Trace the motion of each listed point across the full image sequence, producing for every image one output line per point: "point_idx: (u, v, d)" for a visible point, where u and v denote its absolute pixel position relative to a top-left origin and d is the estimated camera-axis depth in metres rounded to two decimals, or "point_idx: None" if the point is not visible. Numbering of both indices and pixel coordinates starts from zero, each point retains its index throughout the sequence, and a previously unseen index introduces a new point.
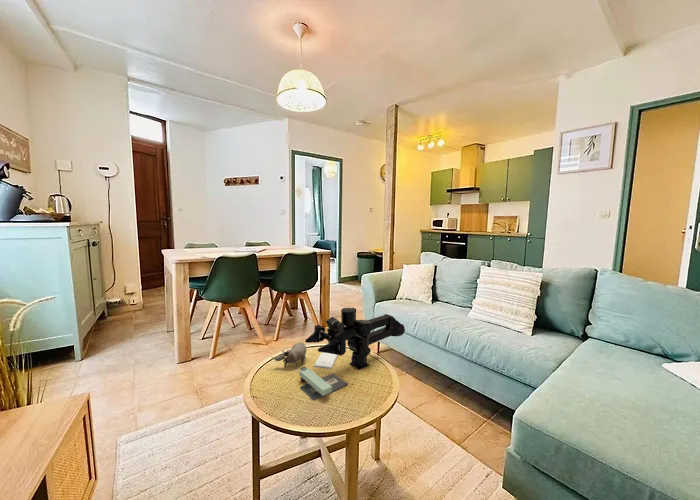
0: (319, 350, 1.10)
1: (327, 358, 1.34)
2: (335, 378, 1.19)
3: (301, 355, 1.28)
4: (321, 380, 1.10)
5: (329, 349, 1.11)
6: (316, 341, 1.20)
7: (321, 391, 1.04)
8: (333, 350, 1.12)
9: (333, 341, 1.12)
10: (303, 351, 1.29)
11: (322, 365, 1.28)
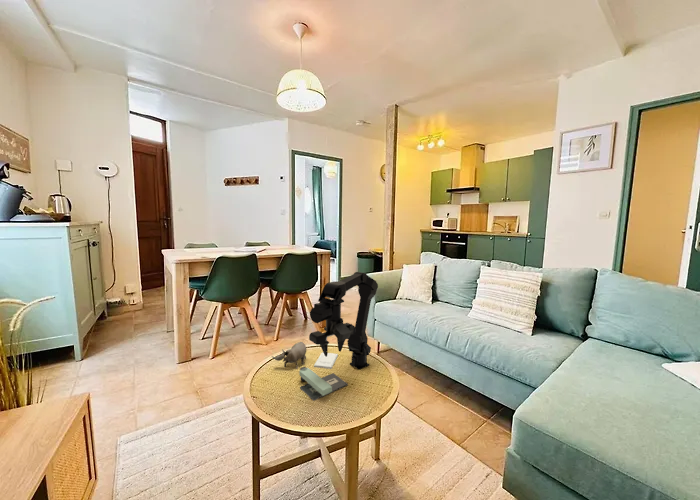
0: None
1: (327, 358, 1.34)
2: (335, 378, 1.19)
3: (301, 355, 1.28)
4: (321, 380, 1.10)
5: None
6: None
7: (321, 391, 1.04)
8: None
9: None
10: (303, 351, 1.29)
11: (322, 365, 1.29)
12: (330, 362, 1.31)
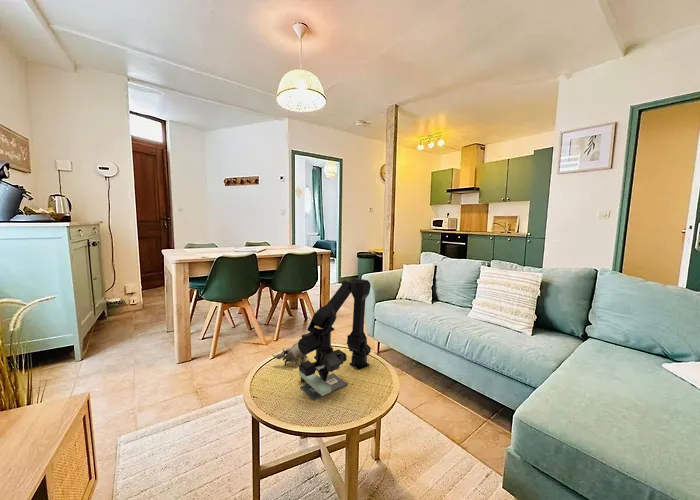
0: None
1: None
2: (335, 378, 1.19)
3: (301, 354, 1.29)
4: (320, 380, 1.10)
5: None
6: None
7: (320, 391, 1.04)
8: None
9: None
10: None
11: None
12: None
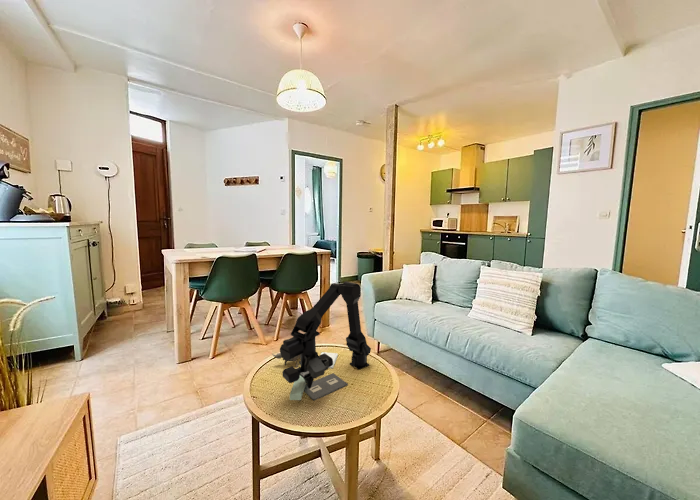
0: None
1: None
2: (335, 378, 1.19)
3: None
4: (301, 385, 1.07)
5: None
6: None
7: None
8: None
9: None
10: None
11: None
12: None
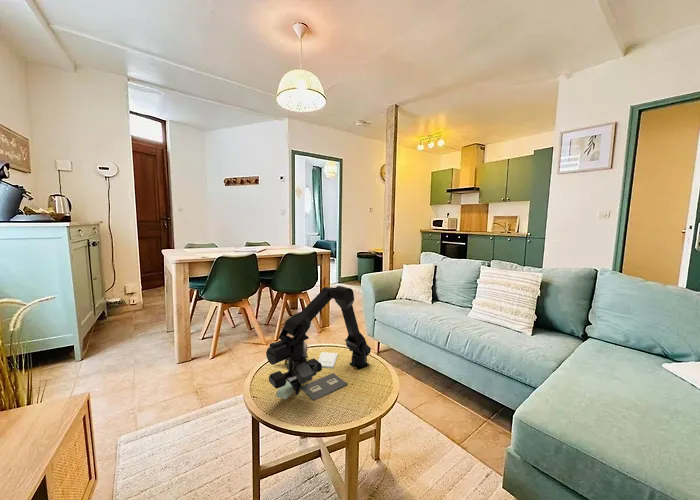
0: None
1: (328, 358, 1.35)
2: (335, 378, 1.19)
3: None
4: None
5: None
6: None
7: None
8: None
9: None
10: None
11: (324, 365, 1.29)
12: (331, 362, 1.31)
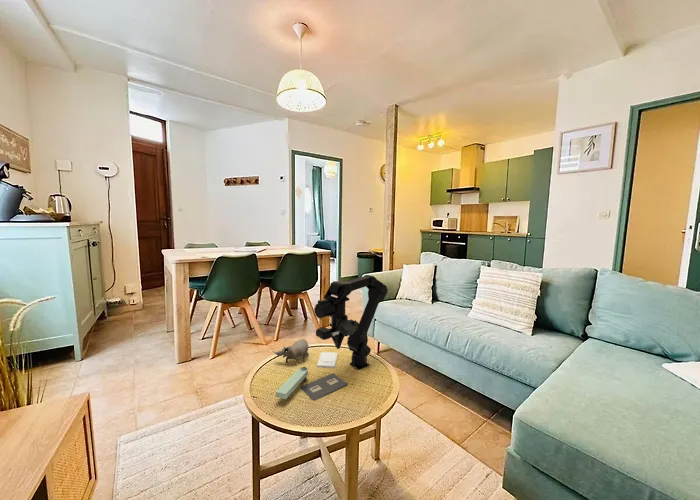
0: None
1: (328, 358, 1.35)
2: (335, 378, 1.19)
3: (301, 352, 1.30)
4: (291, 384, 1.07)
5: None
6: None
7: None
8: None
9: None
10: (303, 349, 1.31)
11: (325, 365, 1.29)
12: (332, 361, 1.32)
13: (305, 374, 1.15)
